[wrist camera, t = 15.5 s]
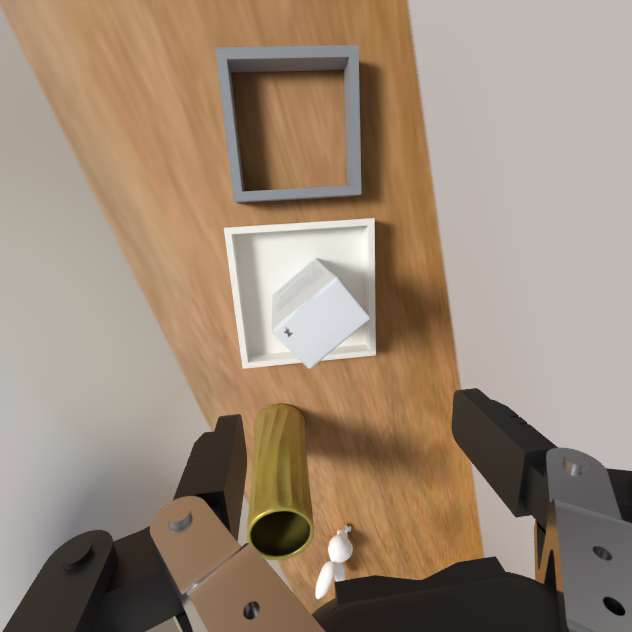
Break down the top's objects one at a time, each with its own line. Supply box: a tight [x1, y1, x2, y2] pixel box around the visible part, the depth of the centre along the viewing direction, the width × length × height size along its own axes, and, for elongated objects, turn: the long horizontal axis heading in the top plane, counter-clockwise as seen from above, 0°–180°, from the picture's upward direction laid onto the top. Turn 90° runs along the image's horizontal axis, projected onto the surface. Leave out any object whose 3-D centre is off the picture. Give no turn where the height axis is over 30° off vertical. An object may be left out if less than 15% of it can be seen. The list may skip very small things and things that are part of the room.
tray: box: [224, 218, 376, 368], centre depth 34 cm, size 14×14×2 cm
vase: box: [247, 404, 314, 560], centre depth 32 cm, size 6×6×14 cm
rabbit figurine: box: [316, 525, 353, 599], centre depth 43 cm, size 6×4×8 cm
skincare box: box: [271, 258, 371, 369], centre depth 29 cm, size 6×4×12 cm
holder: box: [215, 45, 361, 203], centre depth 30 cm, size 12×12×2 cm
